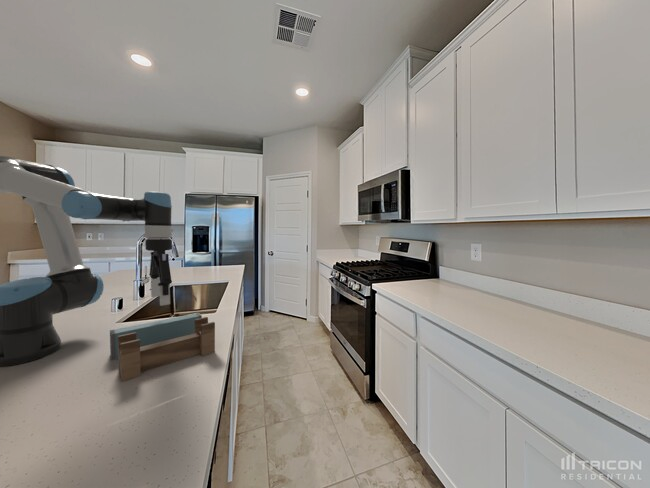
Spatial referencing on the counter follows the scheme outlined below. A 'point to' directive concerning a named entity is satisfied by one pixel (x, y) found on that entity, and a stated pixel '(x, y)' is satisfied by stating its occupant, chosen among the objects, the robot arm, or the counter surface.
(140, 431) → the counter surface
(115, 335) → the rail
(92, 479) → the counter surface
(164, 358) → the wooden slotted stand
